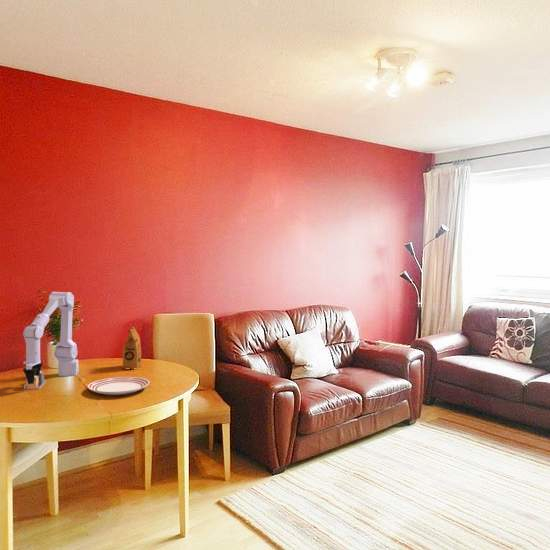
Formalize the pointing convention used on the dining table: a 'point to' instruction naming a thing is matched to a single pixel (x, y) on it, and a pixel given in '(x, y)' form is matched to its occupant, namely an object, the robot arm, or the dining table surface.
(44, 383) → the rail
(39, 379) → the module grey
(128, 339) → the coffee package
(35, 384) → the block
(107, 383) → the dinner plate
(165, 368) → the dining table surface
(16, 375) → the dining table surface
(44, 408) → the dining table surface
